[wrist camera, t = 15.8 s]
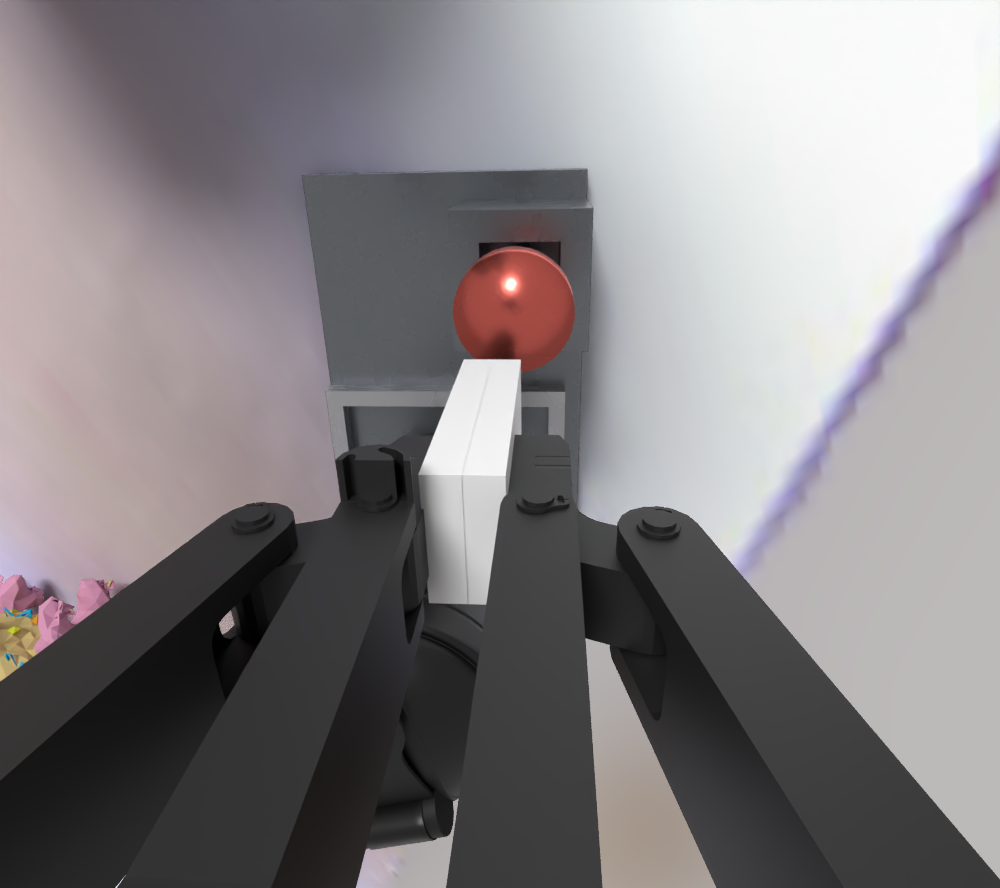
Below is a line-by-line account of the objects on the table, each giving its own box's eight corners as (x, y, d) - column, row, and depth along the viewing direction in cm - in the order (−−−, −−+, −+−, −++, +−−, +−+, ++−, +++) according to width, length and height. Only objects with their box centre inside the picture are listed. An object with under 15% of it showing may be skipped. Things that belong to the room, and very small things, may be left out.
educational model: (-85, 504, 50) (-438, 705, 32) (198, 523, 49) (-3, 742, 31) (2, 722, 60) (-232, 970, 42) (240, 742, 59) (105, 1005, 41)
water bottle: (500, 400, 42) (449, 657, 21) (545, 531, 46) (541, 859, 25) (356, 441, 44) (178, 713, 23) (412, 563, 47) (303, 892, 27)
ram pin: (475, 325, 35) (455, 372, 28) (471, 228, 33) (449, 252, 26) (568, 324, 35) (573, 372, 28) (570, 226, 33) (576, 250, 25)
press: (363, 570, 50) (334, 637, 43) (310, 174, 38) (259, 180, 31) (573, 574, 49) (577, 644, 42) (586, 168, 37) (594, 173, 30)
